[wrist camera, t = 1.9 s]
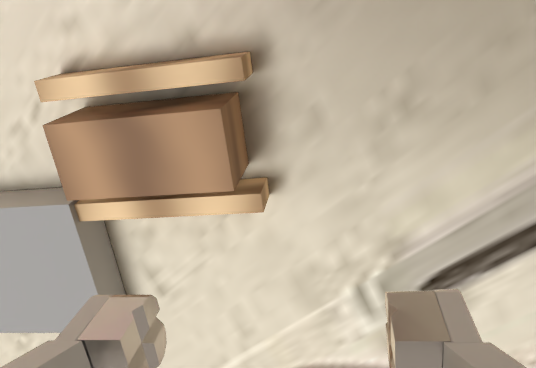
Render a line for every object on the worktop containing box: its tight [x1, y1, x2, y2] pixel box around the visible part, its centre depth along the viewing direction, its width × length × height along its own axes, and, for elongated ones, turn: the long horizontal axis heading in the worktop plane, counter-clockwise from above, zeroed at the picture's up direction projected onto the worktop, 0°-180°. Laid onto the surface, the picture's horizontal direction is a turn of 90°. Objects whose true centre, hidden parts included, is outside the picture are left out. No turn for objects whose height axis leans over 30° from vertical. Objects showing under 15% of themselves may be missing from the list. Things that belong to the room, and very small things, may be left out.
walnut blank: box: [43, 92, 249, 201], centre depth 26 cm, size 10×4×4 cm, turn 97°
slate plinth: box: [0, 187, 126, 333], centre depth 31 cm, size 10×10×3 cm
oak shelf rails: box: [34, 52, 269, 221], centre depth 26 cm, size 12×9×2 cm
